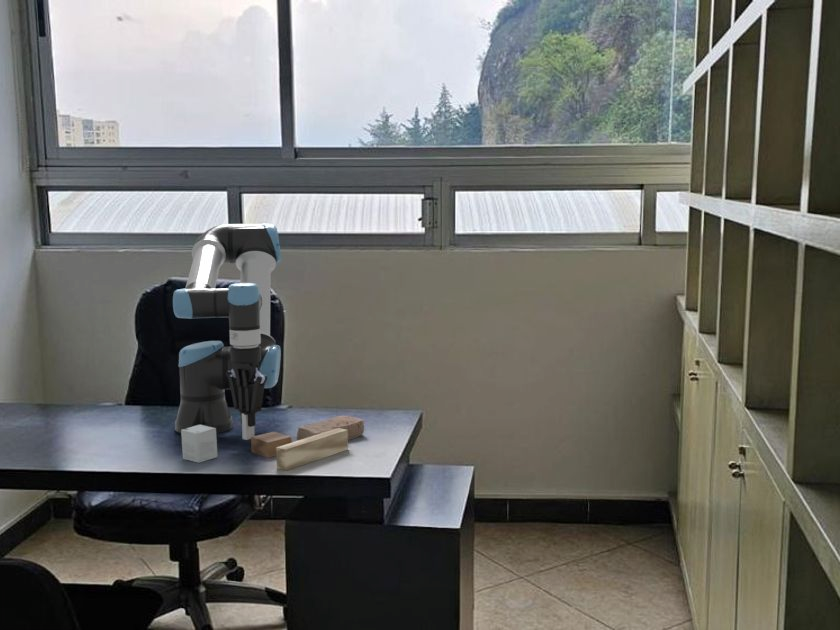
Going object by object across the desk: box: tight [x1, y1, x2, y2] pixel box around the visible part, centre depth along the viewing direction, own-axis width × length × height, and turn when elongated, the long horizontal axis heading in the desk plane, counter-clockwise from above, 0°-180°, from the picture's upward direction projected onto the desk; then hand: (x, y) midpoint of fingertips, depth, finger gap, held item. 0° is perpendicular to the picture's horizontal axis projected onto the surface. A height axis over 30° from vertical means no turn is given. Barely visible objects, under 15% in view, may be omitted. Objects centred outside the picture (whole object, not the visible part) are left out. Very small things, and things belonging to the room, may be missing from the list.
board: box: [276, 428, 349, 471], centre depth 212 cm, size 3×21×5 cm, turn 142°
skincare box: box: [180, 425, 218, 464], centre depth 213 cm, size 6×6×7 cm
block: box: [250, 430, 293, 458], centre depth 219 cm, size 7×7×4 cm
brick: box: [296, 414, 365, 441], centre depth 229 cm, size 17×8×5 cm, turn 135°
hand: (248, 438), depth 223 cm, fingers closed
